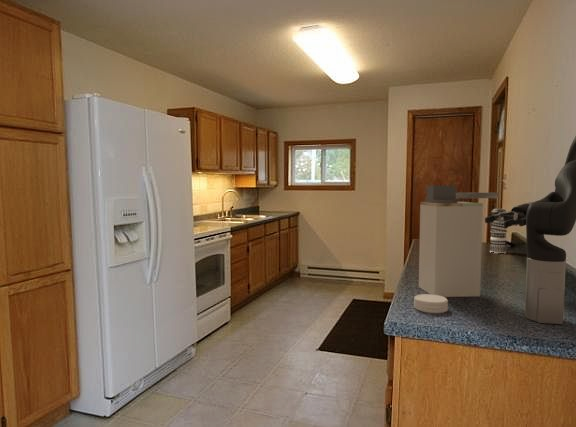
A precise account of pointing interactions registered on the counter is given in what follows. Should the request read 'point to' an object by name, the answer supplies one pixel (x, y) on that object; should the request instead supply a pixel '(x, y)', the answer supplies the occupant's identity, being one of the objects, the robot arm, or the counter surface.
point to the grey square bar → (452, 194)
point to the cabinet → (450, 248)
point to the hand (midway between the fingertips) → (495, 222)
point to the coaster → (430, 303)
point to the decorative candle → (498, 235)
